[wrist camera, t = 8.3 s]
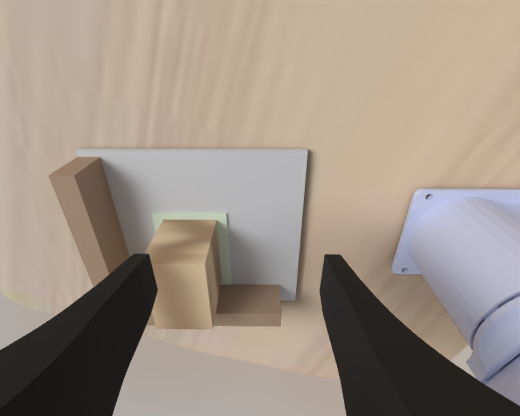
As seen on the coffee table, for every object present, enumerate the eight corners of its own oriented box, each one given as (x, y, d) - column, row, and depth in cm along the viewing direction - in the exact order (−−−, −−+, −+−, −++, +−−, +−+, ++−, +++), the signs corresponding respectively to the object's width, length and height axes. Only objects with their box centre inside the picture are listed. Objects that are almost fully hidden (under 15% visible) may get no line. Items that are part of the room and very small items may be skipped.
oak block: (216, 219, 22) (204, 264, 17) (221, 278, 25) (212, 329, 21) (163, 219, 22) (138, 263, 18) (175, 278, 25) (156, 328, 21)
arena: (307, 148, 20) (315, 169, 17) (294, 297, 27) (298, 330, 24) (78, 148, 20) (45, 168, 17) (127, 296, 27) (110, 328, 24)
